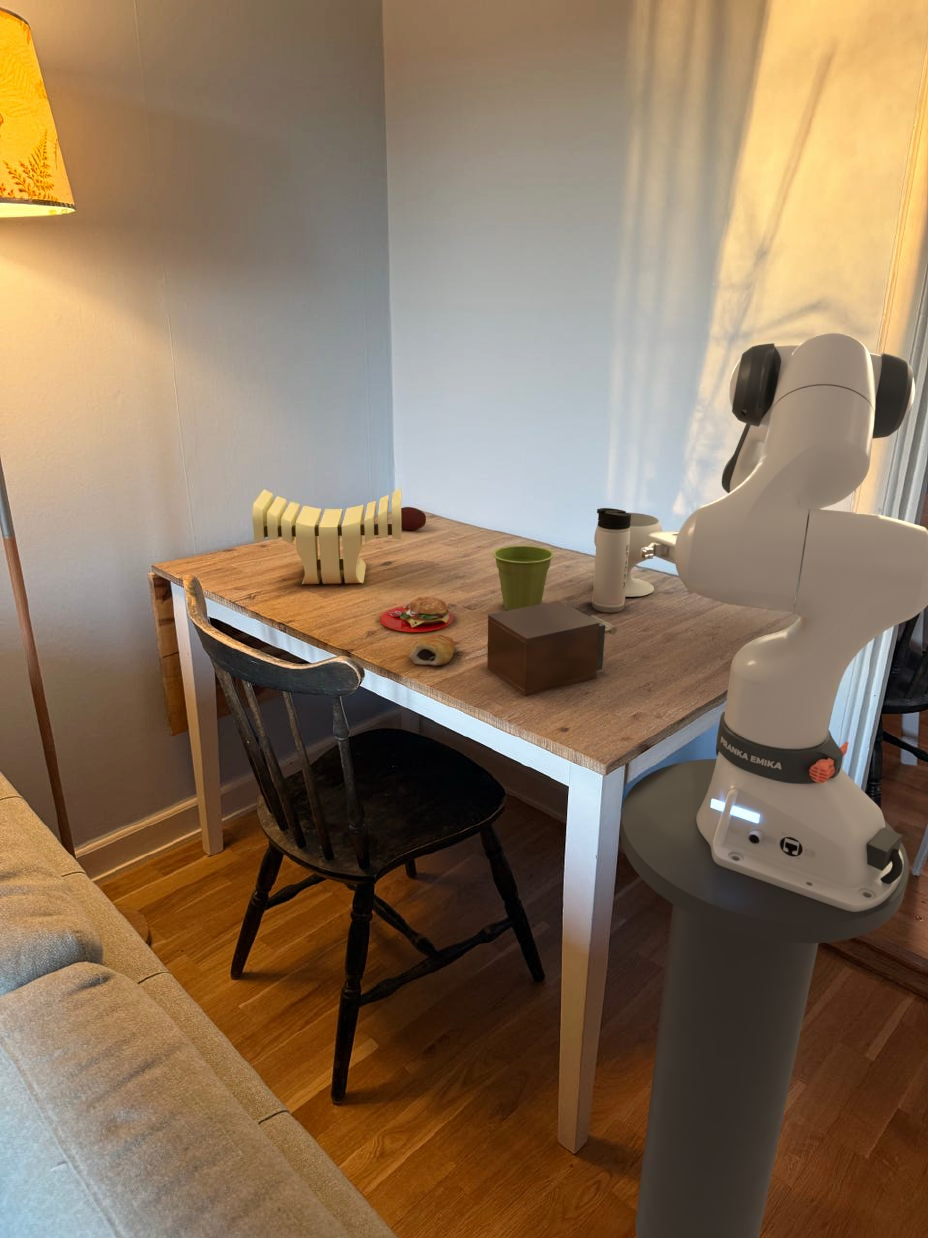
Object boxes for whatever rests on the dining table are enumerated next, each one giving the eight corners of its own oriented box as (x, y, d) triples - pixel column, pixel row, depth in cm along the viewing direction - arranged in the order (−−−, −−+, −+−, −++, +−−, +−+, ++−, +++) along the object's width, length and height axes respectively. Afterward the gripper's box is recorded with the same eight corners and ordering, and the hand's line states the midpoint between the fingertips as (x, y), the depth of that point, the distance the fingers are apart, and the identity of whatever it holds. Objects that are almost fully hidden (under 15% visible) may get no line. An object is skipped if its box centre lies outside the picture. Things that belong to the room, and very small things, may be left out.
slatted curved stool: (259, 589, 173) (251, 506, 166) (270, 566, 187) (264, 489, 181) (402, 587, 174) (400, 504, 168) (403, 564, 189) (400, 487, 183)
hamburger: (439, 603, 165) (438, 574, 163) (464, 627, 153) (464, 597, 151) (371, 612, 161) (370, 582, 158) (391, 638, 148) (390, 606, 146)
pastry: (427, 643, 146) (427, 623, 145) (463, 648, 144) (464, 628, 143) (407, 664, 138) (406, 643, 136) (445, 670, 136) (445, 648, 134)
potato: (411, 524, 223) (411, 502, 221) (431, 530, 216) (431, 508, 214) (388, 528, 218) (388, 506, 216) (409, 535, 212) (408, 512, 210)
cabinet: (554, 652, 143) (557, 600, 139) (596, 678, 133) (599, 622, 130) (487, 668, 136) (487, 614, 133) (525, 696, 127) (526, 638, 123)
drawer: (585, 642, 144) (587, 600, 142) (623, 664, 136) (626, 620, 133) (503, 661, 137) (504, 617, 134) (538, 685, 128) (540, 639, 126)
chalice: (654, 603, 166) (661, 530, 160) (585, 595, 170) (589, 524, 164) (662, 582, 178) (668, 514, 172) (597, 575, 182) (602, 508, 177)
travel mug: (585, 604, 165) (591, 506, 158) (615, 600, 167) (622, 503, 160) (599, 614, 160) (606, 513, 152) (629, 611, 161) (637, 511, 154)
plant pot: (556, 600, 167) (558, 547, 163) (545, 621, 156) (548, 564, 152) (499, 595, 170) (500, 542, 166) (485, 615, 159) (486, 559, 155)
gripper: (681, 519, 153) (623, 528, 147) (767, 547, 137) (705, 559, 130) (678, 551, 156) (620, 562, 149) (762, 583, 139) (701, 596, 133)
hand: (660, 561), depth 140 cm, fingers open, 8 cm apart
